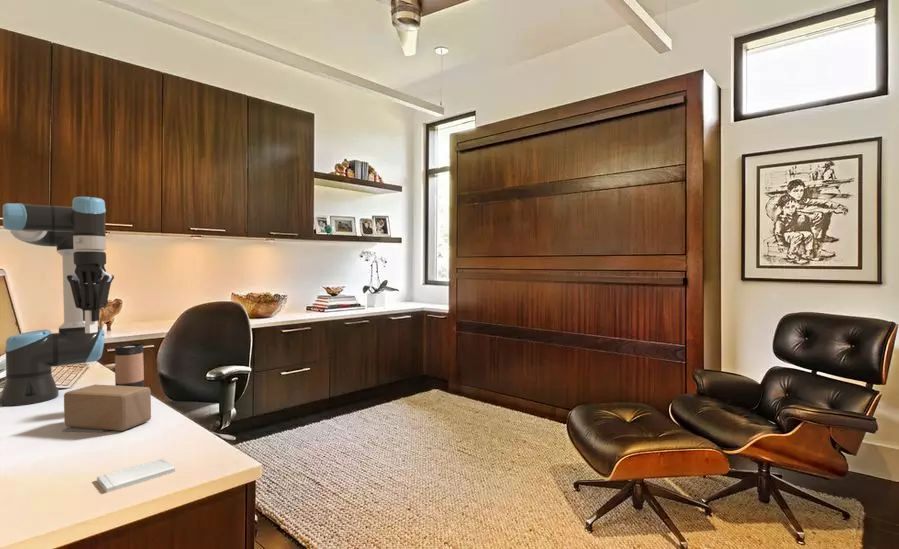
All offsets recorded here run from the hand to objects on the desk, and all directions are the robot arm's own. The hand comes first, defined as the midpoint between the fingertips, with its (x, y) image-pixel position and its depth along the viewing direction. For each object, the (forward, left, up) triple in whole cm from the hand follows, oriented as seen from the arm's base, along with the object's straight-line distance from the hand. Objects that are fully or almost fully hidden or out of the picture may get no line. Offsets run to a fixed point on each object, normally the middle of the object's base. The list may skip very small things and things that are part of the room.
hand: (91, 332), depth 136 cm
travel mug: (-1, +15, -27) cm, 31 cm away
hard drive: (+39, -32, -27) cm, 57 cm away
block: (-4, 0, -21) cm, 22 cm away
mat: (+3, 0, -26) cm, 27 cm away
